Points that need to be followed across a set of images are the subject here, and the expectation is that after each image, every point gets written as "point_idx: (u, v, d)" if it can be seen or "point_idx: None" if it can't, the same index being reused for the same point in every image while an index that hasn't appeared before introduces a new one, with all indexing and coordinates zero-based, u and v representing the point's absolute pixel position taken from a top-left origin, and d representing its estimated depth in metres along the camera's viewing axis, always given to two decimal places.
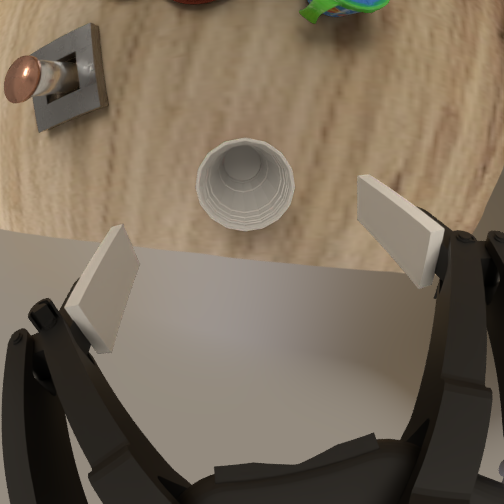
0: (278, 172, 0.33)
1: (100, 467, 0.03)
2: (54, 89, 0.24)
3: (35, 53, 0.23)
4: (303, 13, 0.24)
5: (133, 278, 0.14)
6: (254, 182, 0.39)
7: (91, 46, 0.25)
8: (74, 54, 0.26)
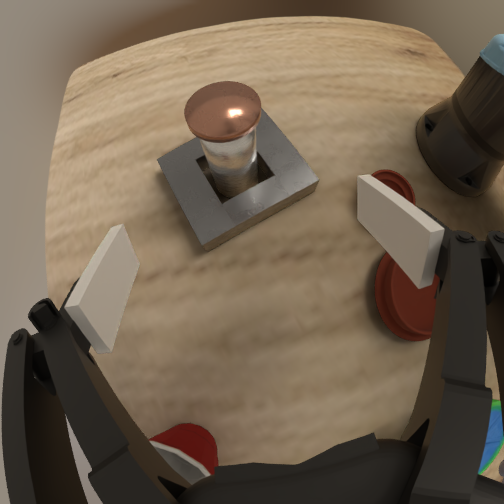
0: None
1: (100, 467, 0.03)
2: (214, 166, 0.25)
3: (264, 115, 0.31)
4: None
5: (133, 278, 0.14)
6: (174, 465, 0.23)
7: (285, 196, 0.28)
8: (269, 174, 0.30)
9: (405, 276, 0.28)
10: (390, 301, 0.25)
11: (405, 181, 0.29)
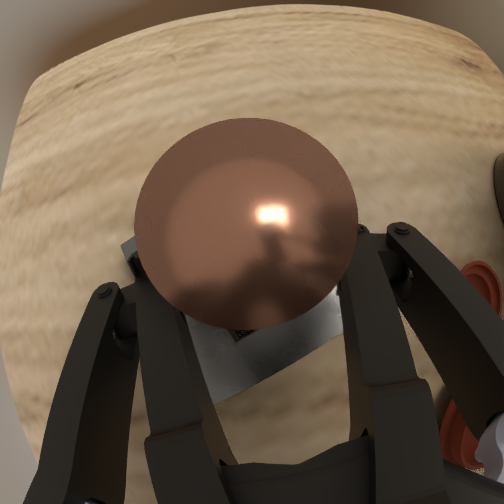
0: None
1: (162, 436, 0.04)
2: None
3: None
4: None
5: None
6: None
7: None
8: None
9: None
10: (456, 448, 0.13)
11: (494, 275, 0.16)
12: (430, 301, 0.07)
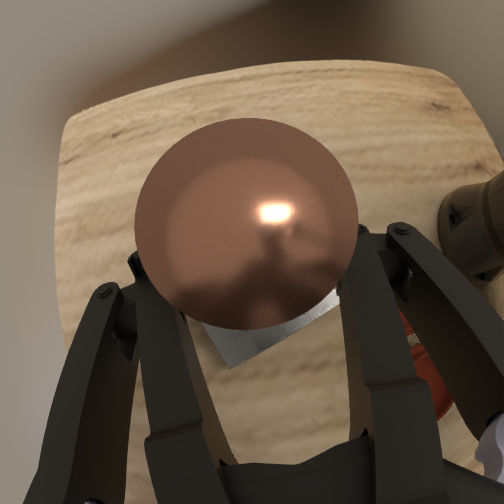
0: None
1: (162, 436, 0.04)
2: None
3: None
4: None
5: None
6: None
7: (308, 322, 0.29)
8: None
9: None
10: None
11: None
12: (430, 301, 0.07)
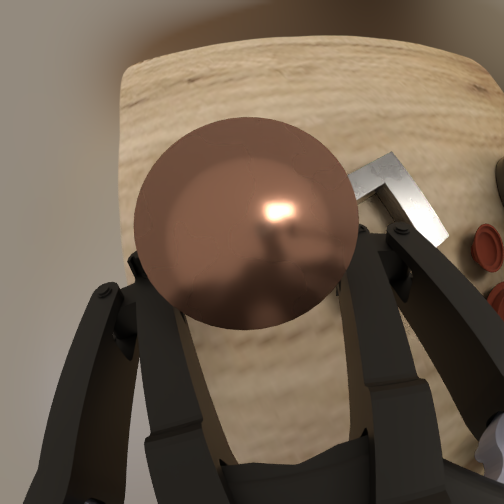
0: None
1: (162, 436, 0.04)
2: None
3: (397, 162, 0.28)
4: None
5: None
6: None
7: None
8: None
9: None
10: None
11: (497, 233, 0.26)
12: (430, 301, 0.07)
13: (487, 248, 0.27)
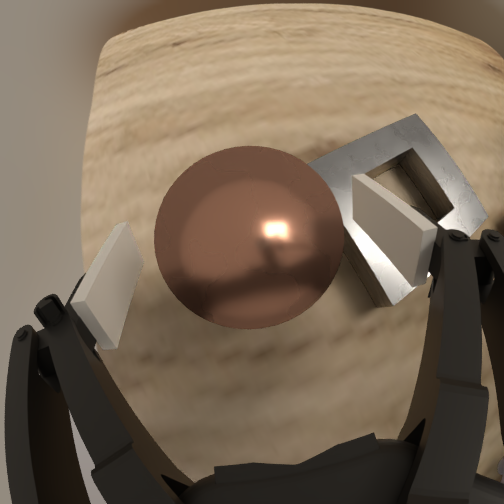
0: None
1: (103, 464, 0.04)
2: None
3: (424, 126, 0.21)
4: None
5: (137, 275, 0.14)
6: None
7: None
8: (440, 203, 0.20)
9: None
10: None
11: None
12: (503, 304, 0.06)
13: None
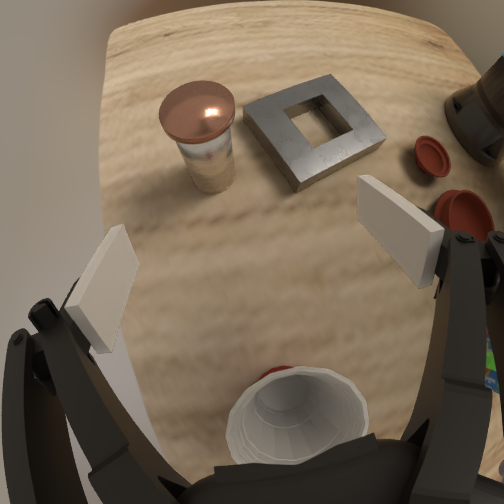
0: (317, 447, 0.20)
1: (100, 467, 0.03)
2: (190, 164, 0.25)
3: (335, 81, 0.32)
4: None
5: (133, 278, 0.14)
6: (268, 416, 0.26)
7: (364, 147, 0.30)
8: (345, 129, 0.32)
9: (450, 222, 0.31)
10: None
11: (440, 145, 0.31)
12: None
13: (433, 159, 0.32)
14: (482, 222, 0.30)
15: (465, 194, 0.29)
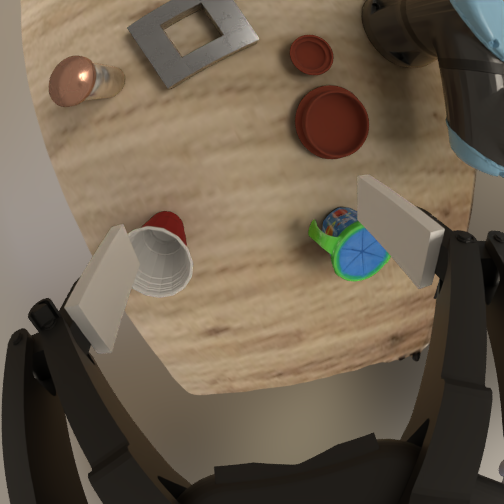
0: (175, 271, 0.40)
1: (100, 467, 0.03)
2: None
3: None
4: (313, 225, 0.42)
5: (133, 278, 0.14)
6: (156, 245, 0.45)
7: (231, 51, 0.30)
8: (220, 32, 0.29)
9: (321, 112, 0.37)
10: (305, 132, 0.36)
11: (326, 44, 0.30)
12: None
13: (316, 55, 0.32)
14: (360, 118, 0.37)
15: (339, 93, 0.34)
